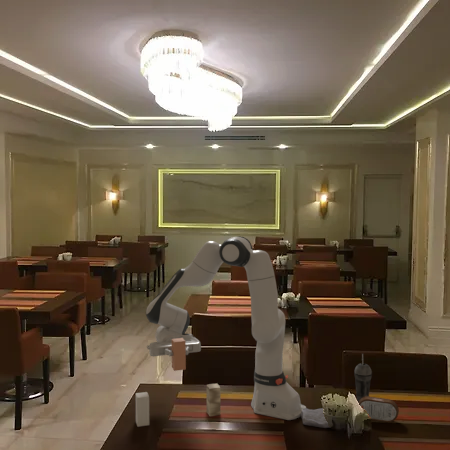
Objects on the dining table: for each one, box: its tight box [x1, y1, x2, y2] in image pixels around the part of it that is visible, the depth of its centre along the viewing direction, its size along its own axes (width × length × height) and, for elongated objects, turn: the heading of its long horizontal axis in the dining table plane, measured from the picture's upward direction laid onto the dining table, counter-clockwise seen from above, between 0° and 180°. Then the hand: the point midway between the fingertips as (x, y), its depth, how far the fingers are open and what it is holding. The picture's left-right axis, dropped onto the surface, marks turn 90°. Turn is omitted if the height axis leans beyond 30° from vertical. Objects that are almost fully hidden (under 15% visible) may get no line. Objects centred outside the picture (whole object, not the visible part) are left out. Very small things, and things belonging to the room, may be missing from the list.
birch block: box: [206, 382, 221, 417], centre depth 203 cm, size 4×4×11 cm
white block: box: [135, 391, 150, 428], centre depth 194 cm, size 4×4×11 cm
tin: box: [357, 395, 400, 423], centre depth 198 cm, size 15×3×8 cm, turn 71°
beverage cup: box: [353, 353, 373, 402], centre depth 215 cm, size 7×7×20 cm
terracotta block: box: [171, 338, 187, 372], centre depth 197 cm, size 4×4×11 cm
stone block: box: [300, 407, 330, 429], centre depth 196 cm, size 12×5×10 cm
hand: (179, 353), depth 196 cm, fingers closed on terracotta block, 4 cm apart
